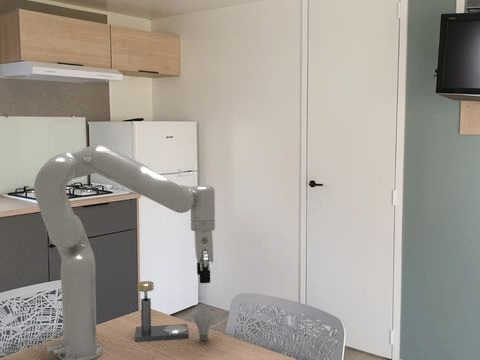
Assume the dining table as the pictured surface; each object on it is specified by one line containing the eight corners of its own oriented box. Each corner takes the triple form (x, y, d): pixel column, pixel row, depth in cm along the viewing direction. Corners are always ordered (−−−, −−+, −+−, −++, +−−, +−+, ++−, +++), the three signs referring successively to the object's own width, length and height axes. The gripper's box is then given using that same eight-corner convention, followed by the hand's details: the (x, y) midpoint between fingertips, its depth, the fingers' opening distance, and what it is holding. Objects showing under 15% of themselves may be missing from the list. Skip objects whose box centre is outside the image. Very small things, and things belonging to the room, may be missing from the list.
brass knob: (137, 305, 170) (137, 285, 169) (138, 300, 175) (138, 281, 174) (153, 305, 171) (153, 285, 170) (153, 300, 175) (153, 280, 175)
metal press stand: (134, 341, 169) (134, 304, 168) (136, 331, 178) (135, 296, 176) (188, 338, 171) (188, 302, 170) (186, 328, 180) (186, 293, 179)
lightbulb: (212, 345, 166) (212, 310, 165) (193, 344, 166) (192, 310, 165) (213, 337, 172) (213, 304, 171) (195, 337, 172) (194, 304, 171)
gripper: (218, 229, 158) (218, 285, 160) (211, 220, 175) (212, 270, 177) (192, 230, 157) (193, 287, 158) (189, 220, 174) (189, 271, 175)
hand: (203, 278), depth 167 cm, fingers open, 9 cm apart
